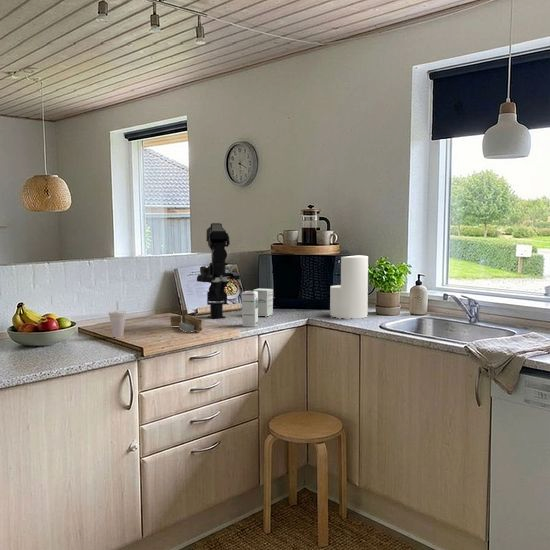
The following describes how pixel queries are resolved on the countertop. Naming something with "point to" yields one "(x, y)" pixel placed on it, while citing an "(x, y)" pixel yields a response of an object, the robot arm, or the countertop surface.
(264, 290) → the supplement box
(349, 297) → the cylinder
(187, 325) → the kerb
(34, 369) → the countertop surface
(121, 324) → the smoothie
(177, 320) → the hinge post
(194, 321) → the gate
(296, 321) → the countertop surface
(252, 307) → the white miniature cabinet
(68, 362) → the countertop surface
